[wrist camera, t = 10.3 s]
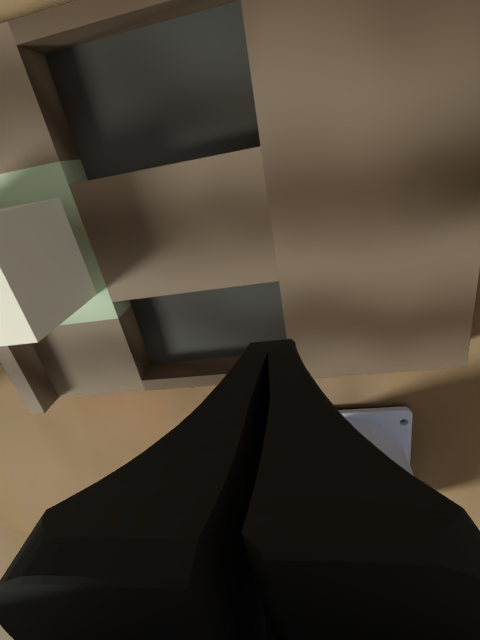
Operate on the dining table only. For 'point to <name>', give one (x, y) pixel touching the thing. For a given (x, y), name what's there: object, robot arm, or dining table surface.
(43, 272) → the block
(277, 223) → the trap deck
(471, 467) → the dining table surface
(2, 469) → the dining table surface
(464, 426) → the dining table surface
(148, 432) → the dining table surface
